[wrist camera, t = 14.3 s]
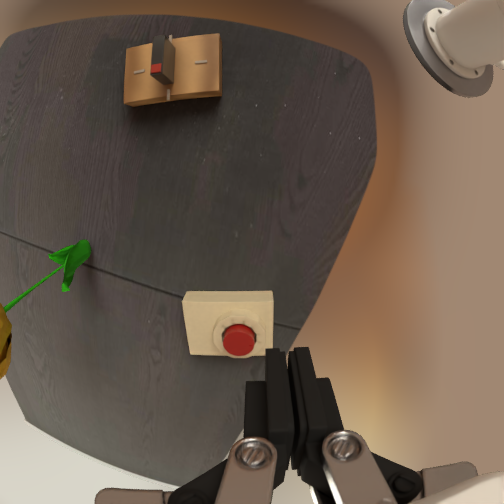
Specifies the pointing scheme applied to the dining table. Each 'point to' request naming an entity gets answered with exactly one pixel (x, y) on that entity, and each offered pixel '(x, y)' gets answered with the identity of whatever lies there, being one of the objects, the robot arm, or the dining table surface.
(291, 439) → the robot arm
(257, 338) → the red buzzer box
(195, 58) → the dial panel
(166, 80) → the black block
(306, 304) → the dining table surface
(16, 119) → the dining table surface
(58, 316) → the dining table surface
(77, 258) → the flower
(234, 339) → the red button
